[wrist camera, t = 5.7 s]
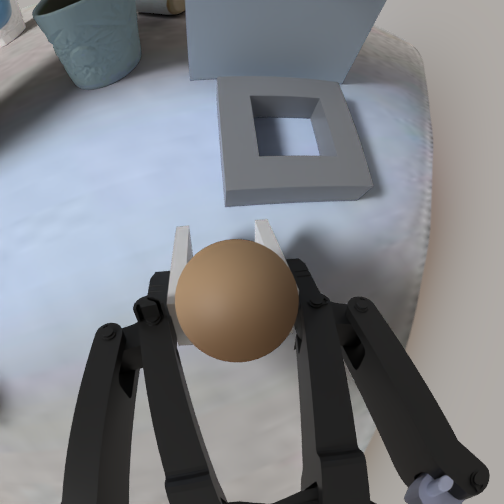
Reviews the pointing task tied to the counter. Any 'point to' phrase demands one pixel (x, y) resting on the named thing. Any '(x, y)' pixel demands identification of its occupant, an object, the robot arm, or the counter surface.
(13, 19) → the white cup
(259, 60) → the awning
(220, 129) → the socket
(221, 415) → the counter surface
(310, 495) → the robot arm
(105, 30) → the blue-green pot
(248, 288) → the peg
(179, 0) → the ceramic mug
